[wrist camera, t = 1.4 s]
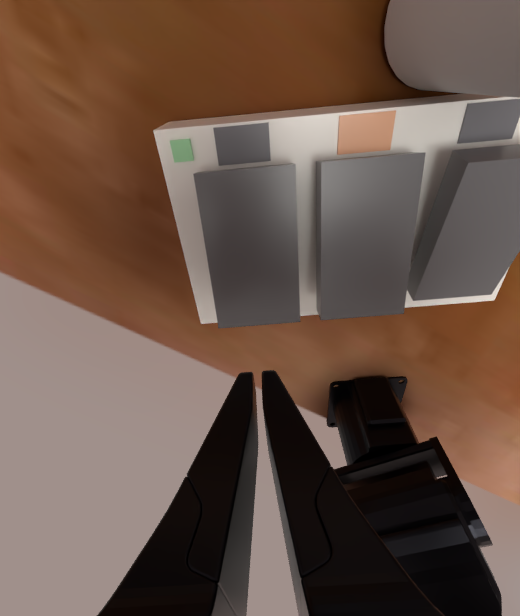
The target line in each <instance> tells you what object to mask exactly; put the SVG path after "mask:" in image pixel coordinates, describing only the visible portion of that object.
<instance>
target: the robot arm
mask: <svg viewBox="0 0 520 616" xmlns="http://www.w3.org/2000/svg"><path fill="white" fill-rule="evenodd" d="M400 380H404V381H403V382H399V381H400ZM406 384H407V378H406V377H403V376H401V377H388V378H385V377H379V378H365V379H356V380H348V381H336V382H333V383H331V384H330V392H329V404H328V416H327V420H326V421H327V426H328V427H338V430H339V434H340V438H341V442H342V446H343V450H344V454H345V458H346V462H347V466H344V467H341V468H337V469H333V467H330V466H331V465H330V463H329V461H328V459H327V457H326V456H325V454H324V452H323V451H322V449H321V448H320V446H319V444H318V442H317V440H316V439H315V437H314V435H313V434H312V432H311V430H310V429H309V427H308V425H307V424H306V422H305V420H304V418H303V417H302V415H301V413H300V412H299V410H298V408H297V406H296V405H295V403H294V401H293V400H292V398H291V396H290V394H289V393H288V391H287V389H286V388H285V386H284V384H283V383H282V381H281V379H280V377H279V376H278V374H277V372H276V371H274V370H270V371H263V372H262V396H263V397H262V400H263V410H264V419H265V428H266V436H267V444H268V451H269V456H270V462H271V467H272V473H273V478H274V484H275V489H276V494H277V500H278V505H279V511H280V516H281V521H282V527H283V533H284V538H285V543H286V549H287V554H288V560H289V565H290V570H291V576H292V581H293V586H294V592H295V597H296V603H297V608H298V613H299V616H502V615H501V613H502V606H501V594H500V591H499V588H498V586H497V583H496V581H495V579H494V576H493V574H492V572H491V570H490V568H489V566H488V564H487V561H486V560H485V557H484V555H483V553H482V551H481V549H480V547H486V546H491V545H493V544H492V542H491V540H490V538H489V536H488V534H487V532H486V530H485V528H484V526H483V524H482V522H481V520H480V518H479V516H478V514H477V512H476V510H475V508H474V506H473V504H472V502H471V500H470V498H469V497H468V495H467V493H466V491H465V489H464V487H463V485H462V483H461V481H460V480H459V478H458V476H457V474H456V472H455V470H454V468H453V466H452V465H451V463H450V461H449V459H448V457H447V455H446V453H445V451H444V450H443V448H442V446H441V444H440V442H439V440H438V438H437V437H434V438H430V439H429V441H425V442H422V443H419V442H418V440H417V437H416V435H415V433H414V431H413V429H412V427H411V424H410V422H409V420H408V418H407V416H406V414H405V412H404V409H403V407H402V405H401V401H402V398H403V394H404V391H405V388H406ZM334 385H339V386H338V387H333V386H334ZM257 457H258V426H257V405H256V390H255V382H254V375H253V373H252V372H244V373H240V374H239V375H238V377H237V379H236V380H235V382H234V384H233V386H232V388H231V390H230V392H229V394H228V396H227V398H226V400H225V402H224V404H223V406H222V408H221V409H220V411H219V413H218V415H217V417H216V419H215V421H214V423H213V425H212V427H211V429H210V431H209V432H208V434H207V436H206V438H205V440H204V442H203V444H202V446H201V448H200V450H199V452H198V454H197V456H196V457H195V459H194V461H193V463H192V465H191V467H190V469H189V471H188V473H187V477H185V478H184V480H183V482H182V484H181V486H180V488H179V490H178V492H177V494H176V495H175V497H174V499H173V501H172V503H171V505H170V506H169V508H168V510H167V512H166V513H165V515H164V516H163V518H162V520H161V521H160V523H159V525H158V526H157V528H156V529H155V531H154V533H153V534H152V536H151V537H150V539H149V540H148V542H147V543H146V545H145V546H144V548H143V550H142V551H141V553H140V554H139V556H138V557H137V559H136V560H135V562H134V563H133V565H132V566H131V568H130V570H129V571H128V572H127V574H126V576H125V577H124V579H123V580H122V582H121V583H120V585H119V586H118V588H117V589H116V591H115V592H114V594H113V595H112V597H111V598H110V600H109V601H108V602H107V604H106V605H105V606H104V608H103V609H102V610H101V611H100V613H99V614H98V615H97V616H246V612H247V598H248V583H249V568H250V556H251V541H252V527H253V513H254V499H255V485H256V470H257ZM444 475H447V477H443V478H439V479H437V478H436V477H439V476H444Z"/></svg>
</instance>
